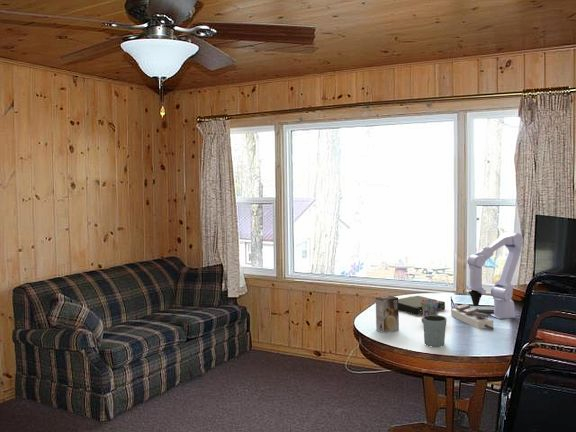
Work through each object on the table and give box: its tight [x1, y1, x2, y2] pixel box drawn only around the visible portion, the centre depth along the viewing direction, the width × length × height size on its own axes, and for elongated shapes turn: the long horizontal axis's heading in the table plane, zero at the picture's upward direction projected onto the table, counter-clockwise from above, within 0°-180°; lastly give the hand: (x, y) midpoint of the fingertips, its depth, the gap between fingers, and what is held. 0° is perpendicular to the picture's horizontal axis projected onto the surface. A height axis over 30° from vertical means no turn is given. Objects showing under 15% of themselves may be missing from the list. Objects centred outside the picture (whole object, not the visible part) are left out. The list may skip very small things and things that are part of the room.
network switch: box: [398, 295, 446, 316], centre depth 316 cm, size 23×24×5 cm
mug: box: [420, 298, 440, 322], centre depth 290 cm, size 12×9×11 cm
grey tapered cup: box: [422, 314, 448, 348], centre depth 251 cm, size 10×10×12 cm
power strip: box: [450, 308, 494, 331], centre depth 285 cm, size 8×32×4 cm, turn 13°
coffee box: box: [375, 295, 400, 333], centre depth 275 cm, size 9×6×16 cm
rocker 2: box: [463, 306, 480, 315], centre depth 287 cm, size 6×4×2 cm, turn 102°
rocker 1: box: [455, 303, 471, 311], centre depth 295 cm, size 6×4×2 cm, turn 102°
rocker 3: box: [473, 311, 489, 318], centre depth 280 cm, size 6×4×2 cm, turn 103°
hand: (475, 305), depth 288 cm, fingers closed
